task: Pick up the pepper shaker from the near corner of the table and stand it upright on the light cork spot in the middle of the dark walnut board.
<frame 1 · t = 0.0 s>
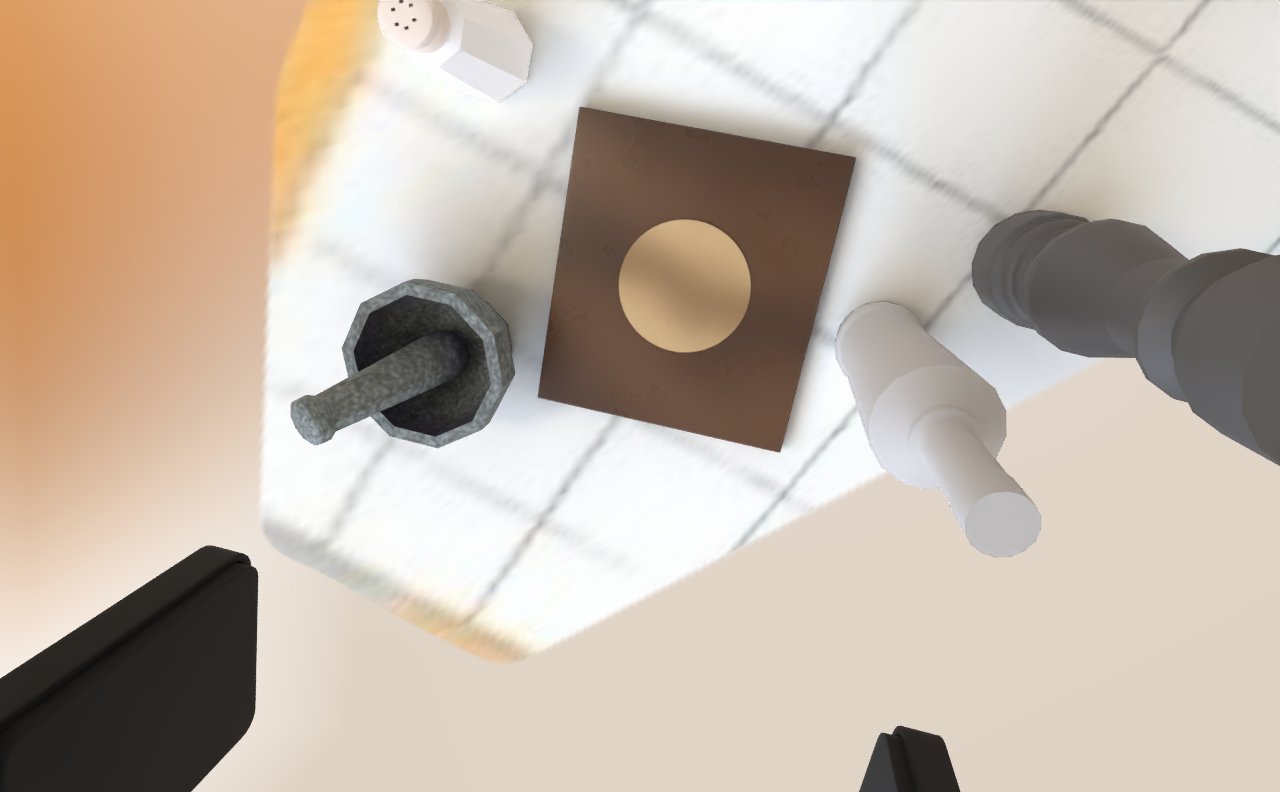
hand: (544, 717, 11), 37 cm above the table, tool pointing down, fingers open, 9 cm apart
board: (685, 285, 45), on the table
bottle: (876, 340, 45), on the table
candle holder: (1027, 265, 42), on the table
mortar and pestle: (459, 345, 49), on the table
pepper shaker: (491, 55, 44), on the table
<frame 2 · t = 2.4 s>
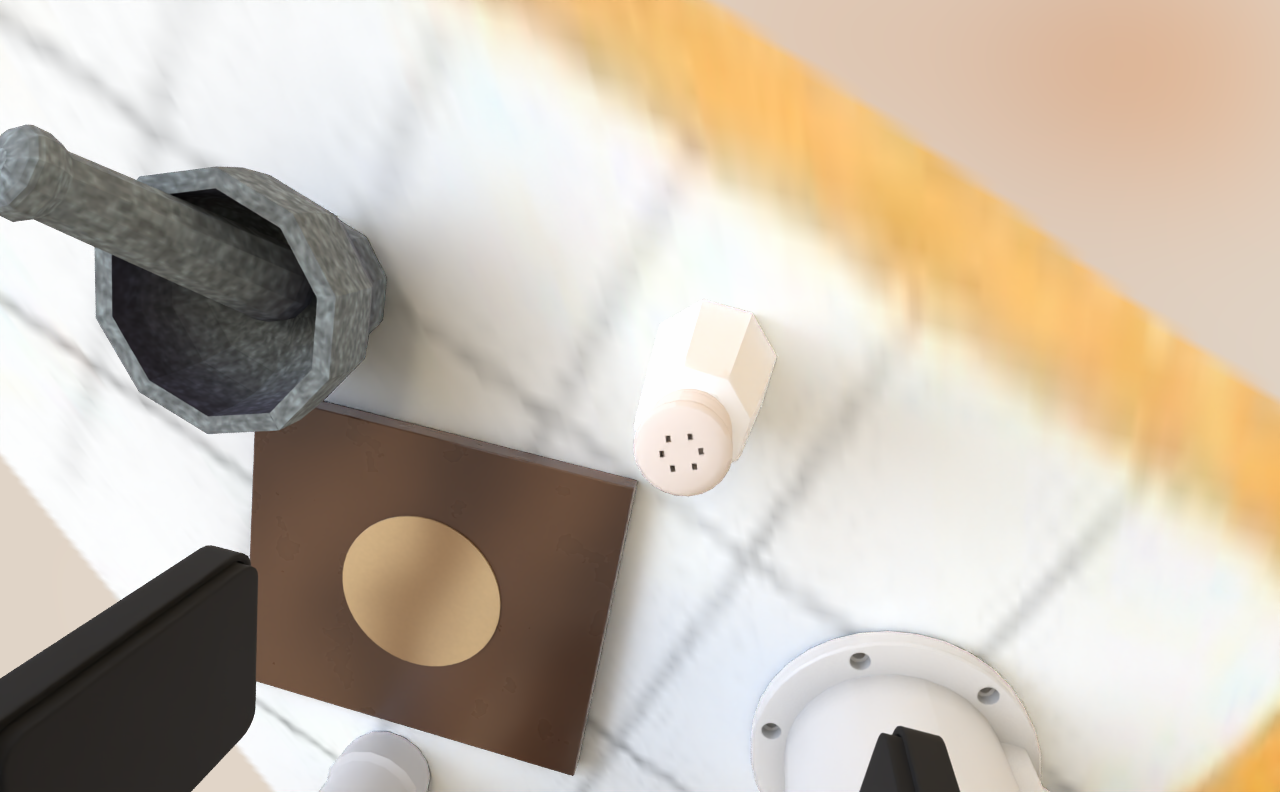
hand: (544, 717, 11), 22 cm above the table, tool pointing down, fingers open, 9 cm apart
board: (430, 581, 36), on the table
bottle: (391, 764, 40), on the table
mortar and pestle: (317, 268, 33), on the table
pepper shaker: (711, 361, 31), on the table
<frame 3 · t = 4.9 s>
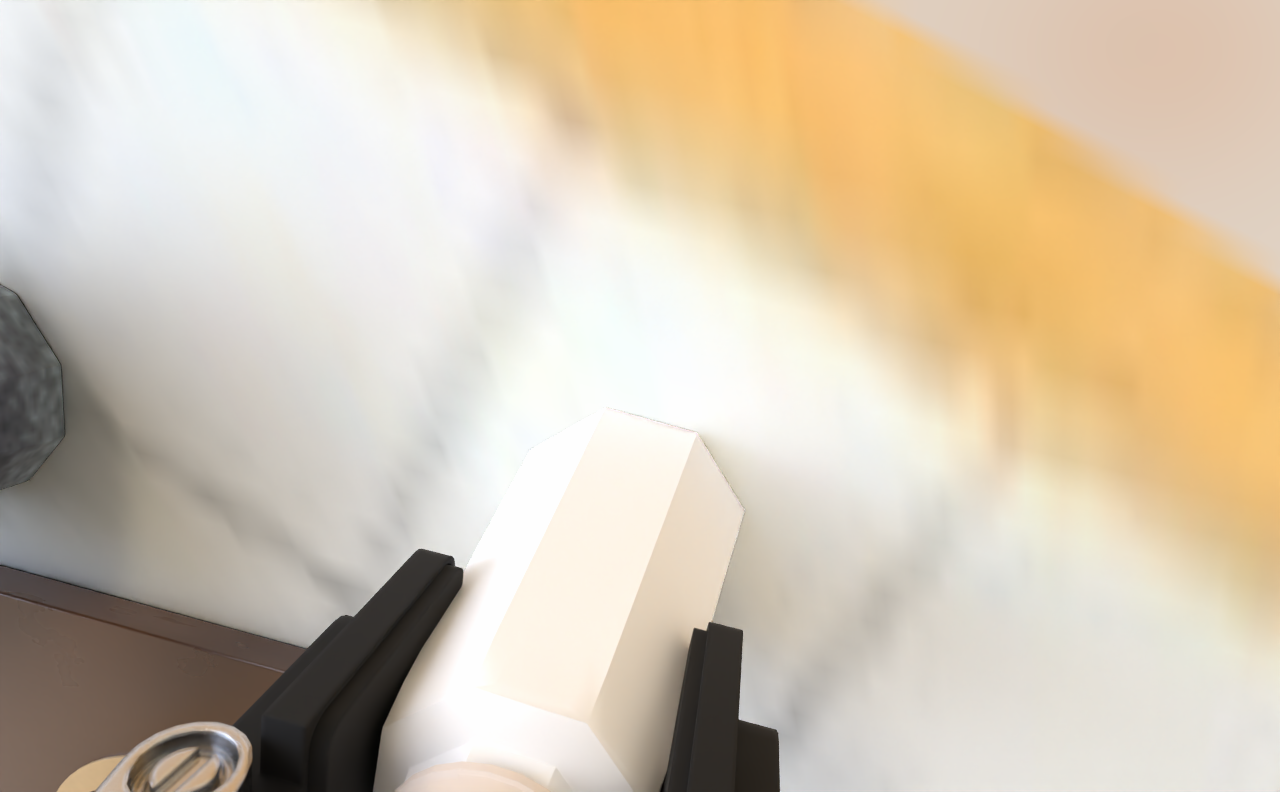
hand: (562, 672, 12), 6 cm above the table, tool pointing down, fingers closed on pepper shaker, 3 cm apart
pepper shaker: (628, 512, 17), on the table, touching gripper
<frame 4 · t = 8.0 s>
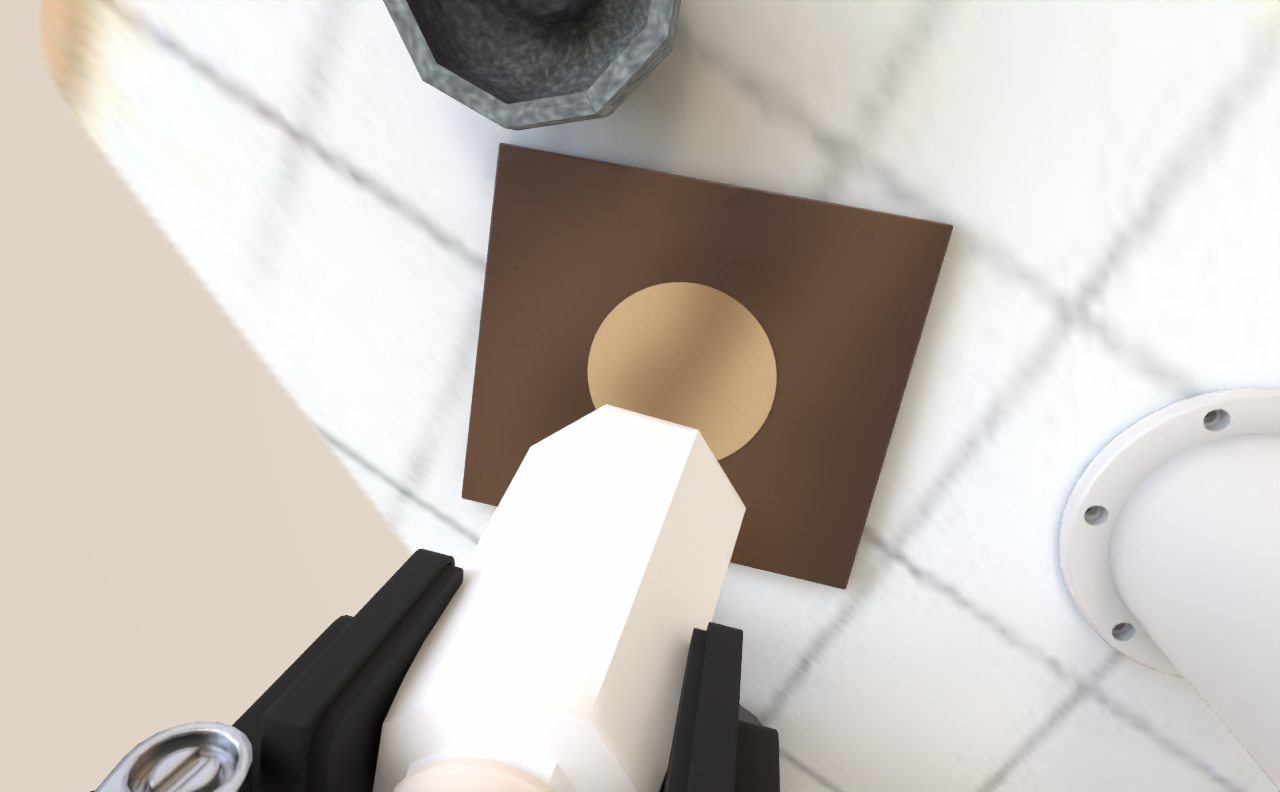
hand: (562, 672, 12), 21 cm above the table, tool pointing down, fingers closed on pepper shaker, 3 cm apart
board: (683, 371, 32), on the table
pepper shaker: (629, 510, 17), point 15 cm above the table, touching gripper
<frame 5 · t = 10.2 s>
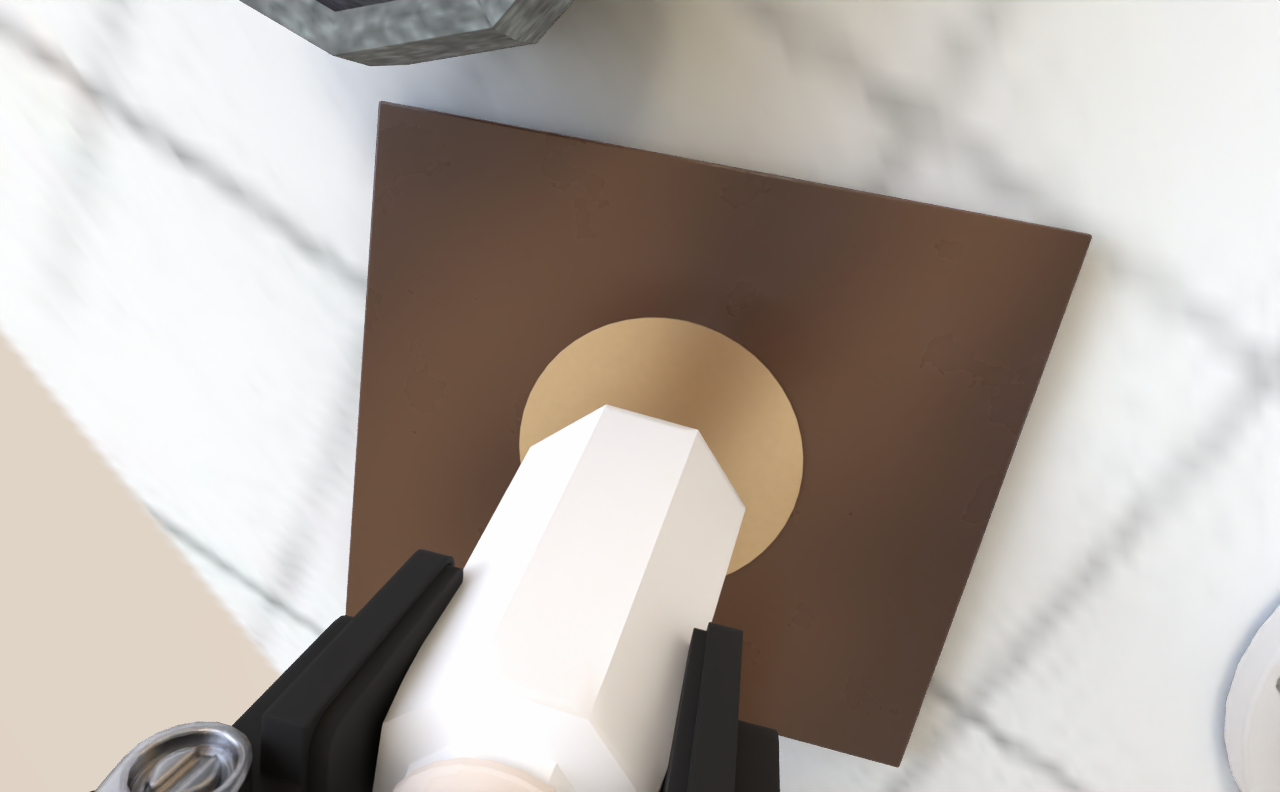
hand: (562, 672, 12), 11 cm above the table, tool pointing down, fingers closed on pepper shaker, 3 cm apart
board: (662, 446, 22), on the table
pepper shaker: (629, 510, 17), point 5 cm above the table, touching gripper
when the fingers open (7 cm above the table, at t = 11.5 s): pepper shaker stays where it is, resting on board.
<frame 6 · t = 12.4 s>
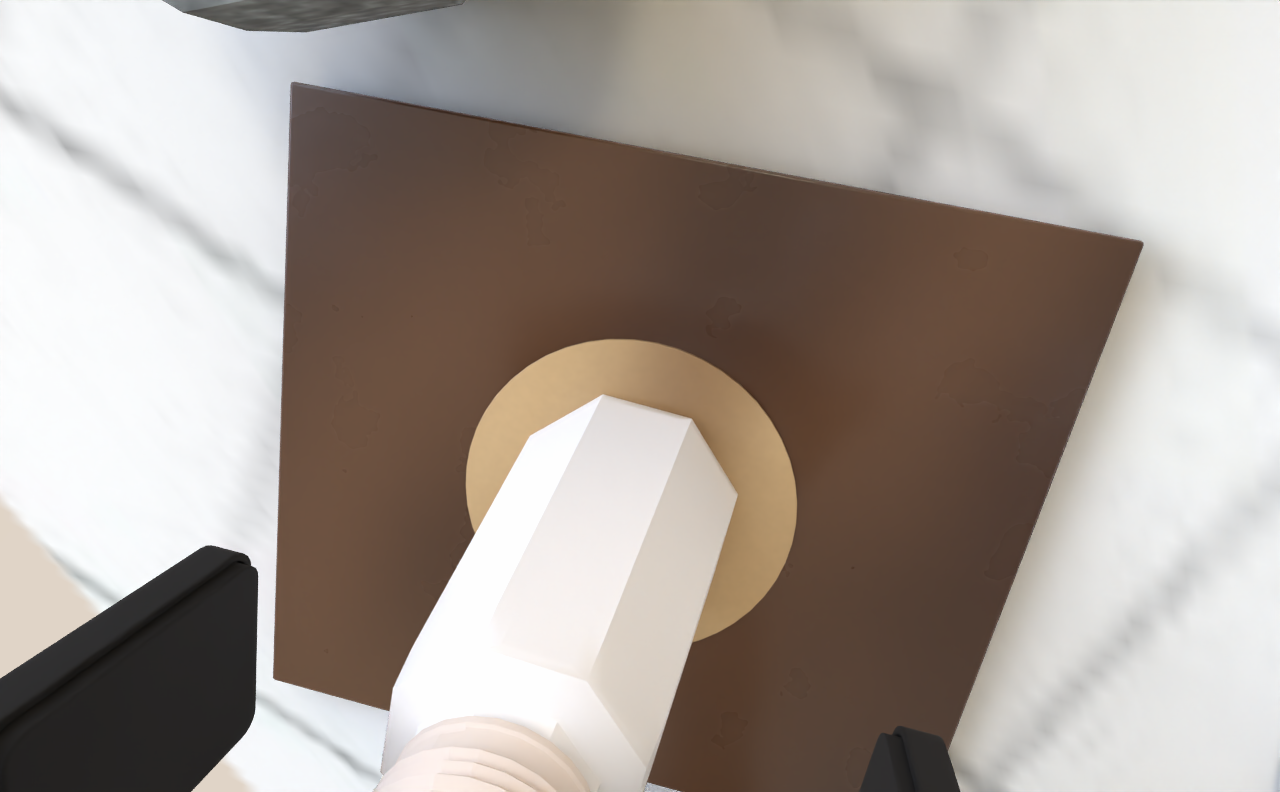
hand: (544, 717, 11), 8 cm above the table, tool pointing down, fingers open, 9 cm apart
board: (633, 485, 19), on the table
pepper shaker: (625, 497, 18), point 1 cm above the table, touching board
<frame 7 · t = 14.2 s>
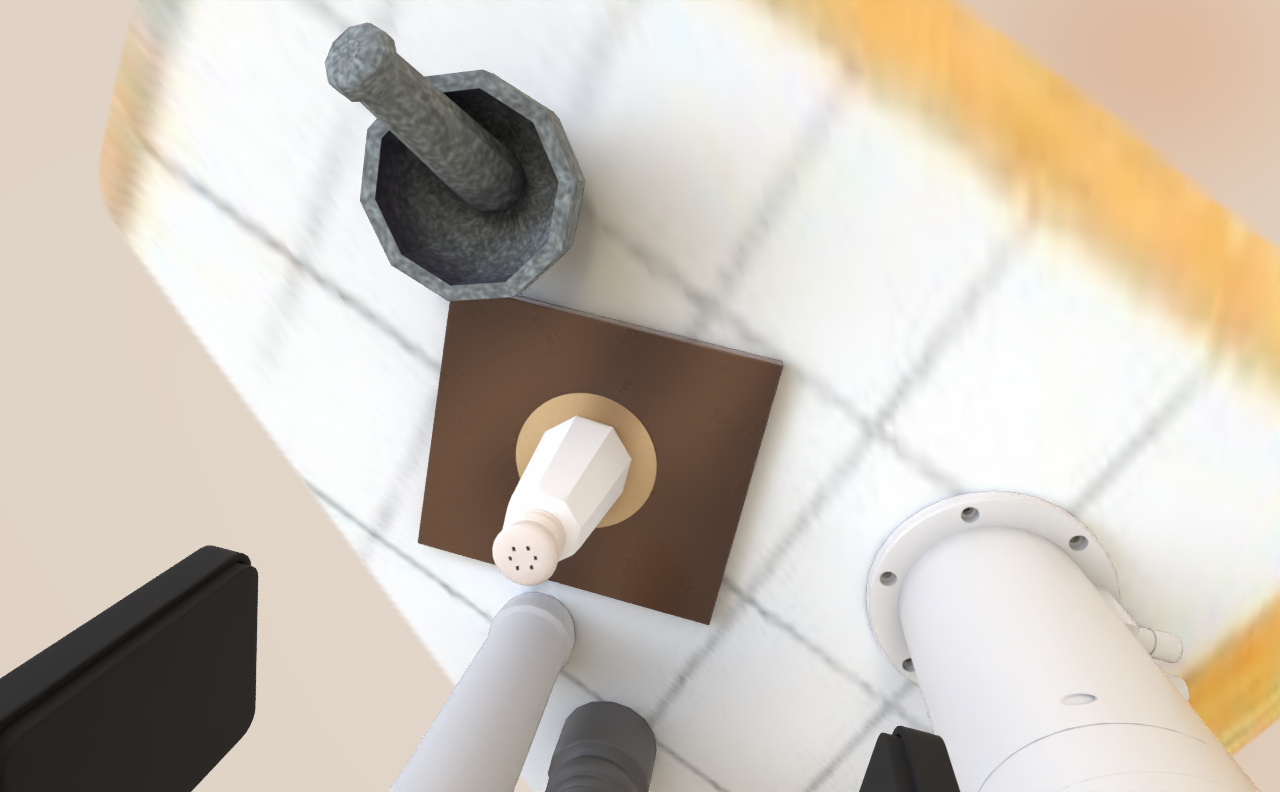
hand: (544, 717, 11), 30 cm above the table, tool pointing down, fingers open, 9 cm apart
board: (589, 455, 42), on the table
bottle: (538, 623, 46), on the table
candle holder: (609, 739, 47), on the table
mortar and pestle: (511, 175, 38), on the table
pepper shaker: (585, 459, 41), point 1 cm above the table, touching board
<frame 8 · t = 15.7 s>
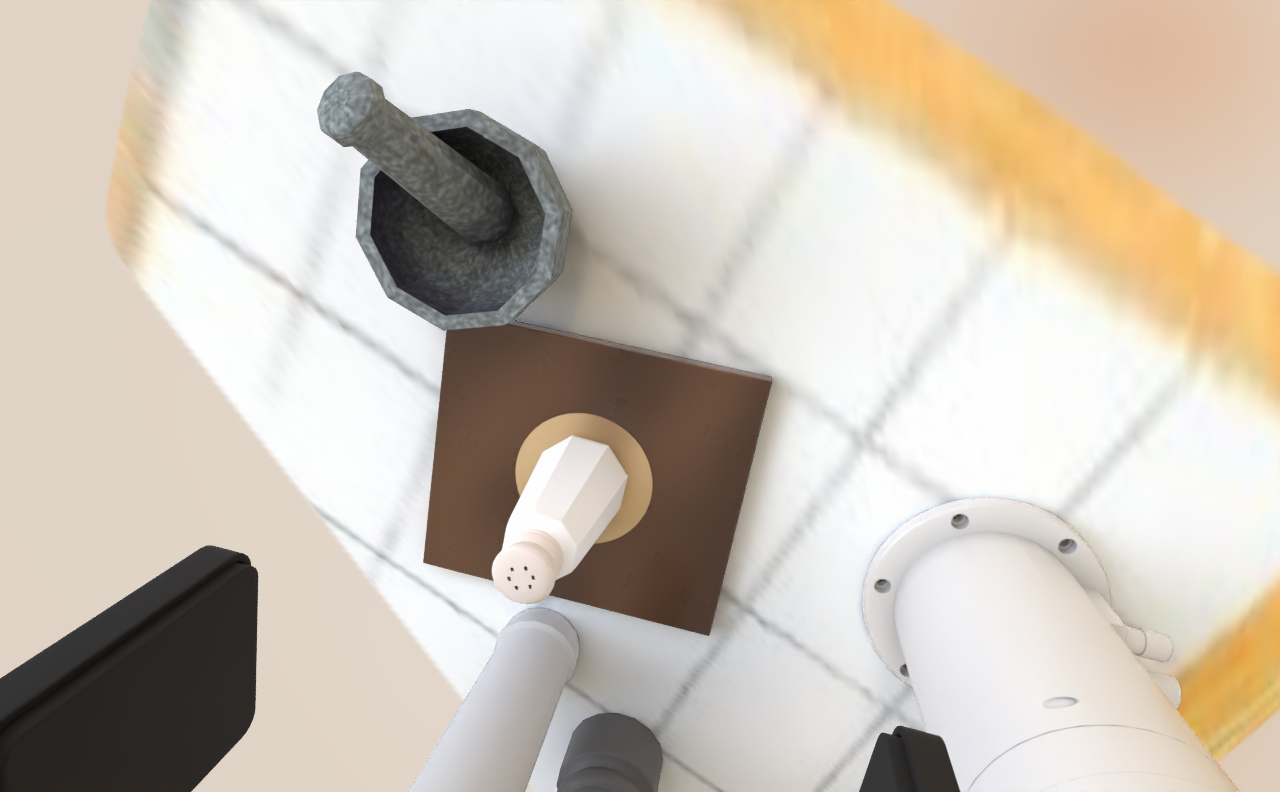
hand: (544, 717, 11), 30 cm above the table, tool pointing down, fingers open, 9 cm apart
board: (587, 472, 43), on the table
bottle: (543, 638, 47), on the table
candle holder: (616, 750, 48), on the table
mortar and pestle: (502, 205, 39), on the table
pepper shaker: (583, 477, 42), point 1 cm above the table, touching board
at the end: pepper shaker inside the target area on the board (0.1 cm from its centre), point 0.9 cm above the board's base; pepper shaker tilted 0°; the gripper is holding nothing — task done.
